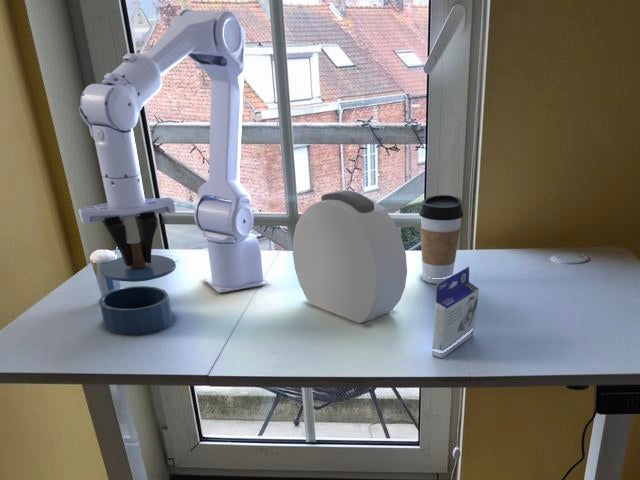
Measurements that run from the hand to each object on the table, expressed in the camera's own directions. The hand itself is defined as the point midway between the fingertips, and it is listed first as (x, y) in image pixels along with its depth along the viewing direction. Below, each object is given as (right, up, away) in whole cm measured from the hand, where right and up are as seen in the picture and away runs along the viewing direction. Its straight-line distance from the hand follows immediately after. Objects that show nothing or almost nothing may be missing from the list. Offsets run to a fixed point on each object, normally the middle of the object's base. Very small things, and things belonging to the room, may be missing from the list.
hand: (137, 262), depth 121 cm
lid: (0, -1, +1) cm, 1 cm away
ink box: (+52, -14, 0) cm, 54 cm away
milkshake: (-9, -2, +14) cm, 17 cm away
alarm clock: (+34, -4, +13) cm, 37 cm away
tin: (-2, -8, +6) cm, 10 cm away
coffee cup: (+51, +5, +26) cm, 58 cm away
